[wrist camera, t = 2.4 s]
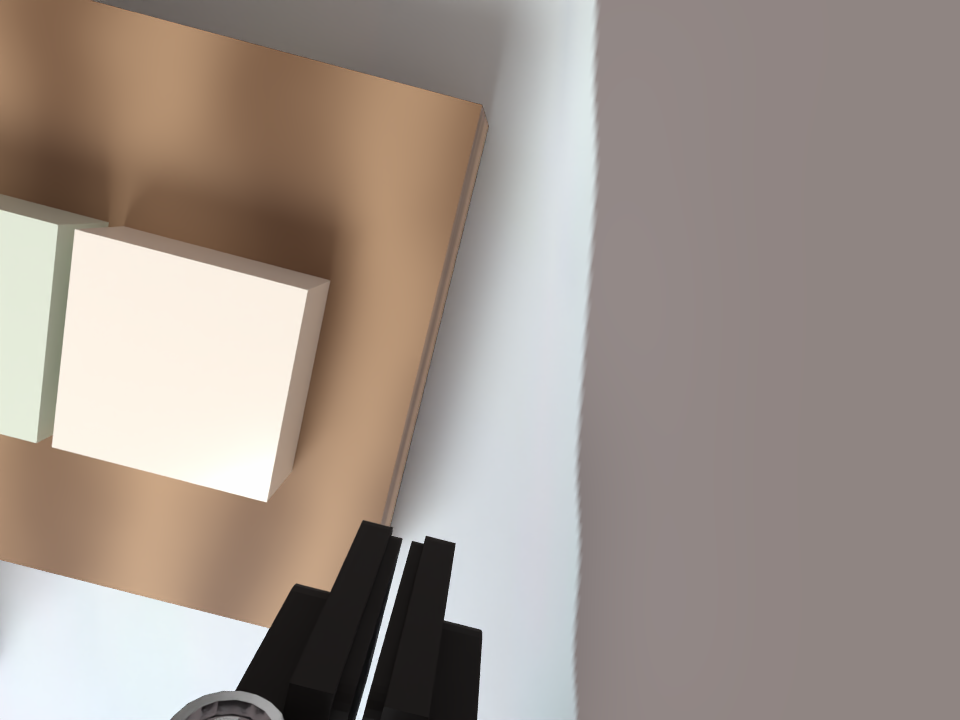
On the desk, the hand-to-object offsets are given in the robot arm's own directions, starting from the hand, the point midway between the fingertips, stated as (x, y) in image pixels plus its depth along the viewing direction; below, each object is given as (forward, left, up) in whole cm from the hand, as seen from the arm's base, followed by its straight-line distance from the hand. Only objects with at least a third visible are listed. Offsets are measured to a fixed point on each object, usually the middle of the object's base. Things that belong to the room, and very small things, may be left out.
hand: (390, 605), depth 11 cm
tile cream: (+8, 0, -12) cm, 14 cm away
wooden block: (+13, 0, -18) cm, 22 cm away
